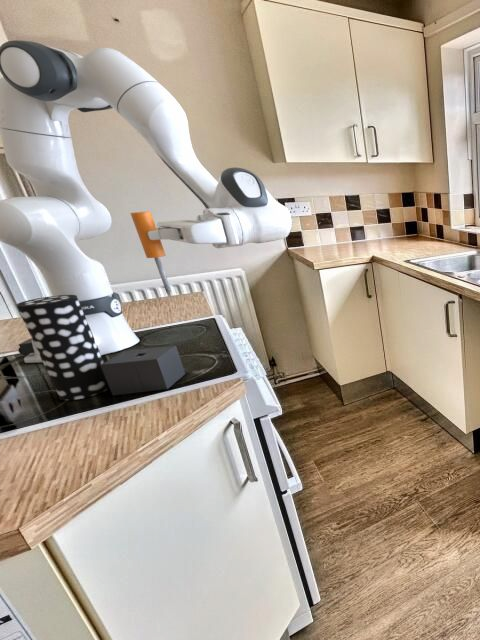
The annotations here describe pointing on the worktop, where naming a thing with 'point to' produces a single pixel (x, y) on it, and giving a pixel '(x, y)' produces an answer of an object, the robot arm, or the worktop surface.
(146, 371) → the holder
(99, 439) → the worktop surface
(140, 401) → the worktop surface
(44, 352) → the spotted tube
